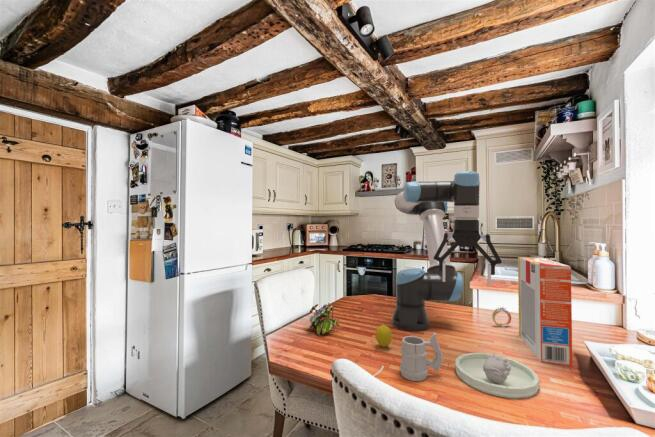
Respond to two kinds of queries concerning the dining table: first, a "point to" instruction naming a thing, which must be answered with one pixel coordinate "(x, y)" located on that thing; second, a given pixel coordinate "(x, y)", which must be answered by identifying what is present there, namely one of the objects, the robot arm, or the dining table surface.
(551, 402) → the dining table surface
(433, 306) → the dining table surface
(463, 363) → the groove dish
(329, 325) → the leafy green plant
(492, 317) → the ring
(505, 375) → the grey round lump
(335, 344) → the dining table surface
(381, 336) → the lemon
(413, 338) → the mug
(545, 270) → the cereal box
